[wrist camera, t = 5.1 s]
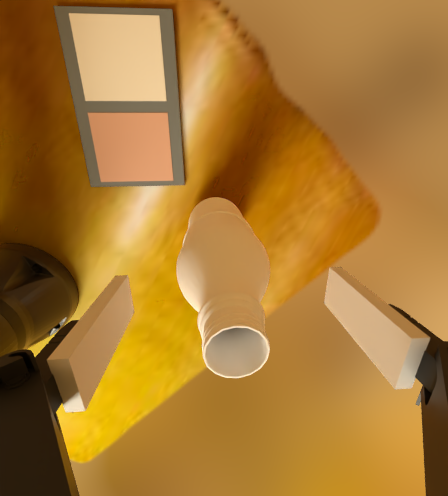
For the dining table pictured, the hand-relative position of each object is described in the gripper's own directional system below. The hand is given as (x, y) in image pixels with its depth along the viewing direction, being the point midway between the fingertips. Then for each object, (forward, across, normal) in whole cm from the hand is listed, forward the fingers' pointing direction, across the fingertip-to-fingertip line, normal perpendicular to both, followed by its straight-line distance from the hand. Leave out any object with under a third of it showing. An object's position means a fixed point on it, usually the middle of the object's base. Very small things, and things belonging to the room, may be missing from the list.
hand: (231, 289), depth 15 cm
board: (+19, -10, +14) cm, 26 cm away
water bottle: (+20, 0, 0) cm, 20 cm away
